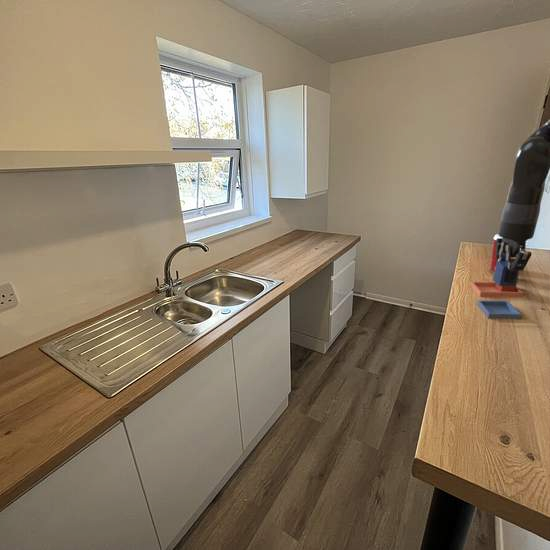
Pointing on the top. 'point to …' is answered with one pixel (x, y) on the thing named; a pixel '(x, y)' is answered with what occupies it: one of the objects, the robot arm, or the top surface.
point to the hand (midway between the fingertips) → (504, 278)
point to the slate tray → (498, 309)
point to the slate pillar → (502, 274)
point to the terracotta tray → (493, 290)
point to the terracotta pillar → (505, 288)
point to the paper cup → (494, 253)
